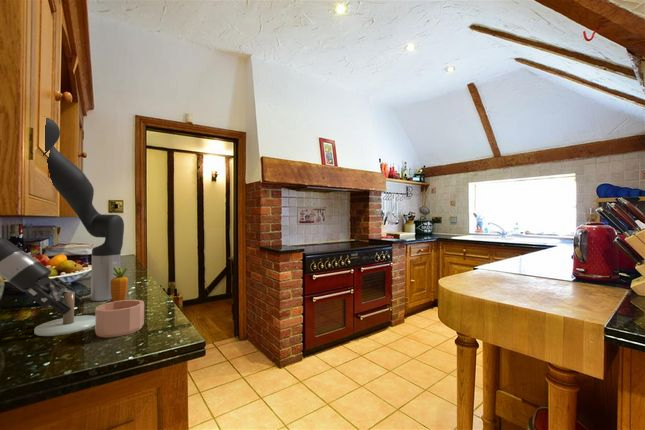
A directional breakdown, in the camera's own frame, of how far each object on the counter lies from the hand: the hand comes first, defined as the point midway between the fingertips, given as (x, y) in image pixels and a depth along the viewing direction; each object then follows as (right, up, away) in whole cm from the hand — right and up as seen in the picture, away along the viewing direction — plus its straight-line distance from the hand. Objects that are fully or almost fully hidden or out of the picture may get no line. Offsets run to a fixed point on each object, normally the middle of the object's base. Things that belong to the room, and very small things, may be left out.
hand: (74, 307), depth 84 cm
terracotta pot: (+16, -5, -3) cm, 17 cm away
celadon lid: (-1, -6, -1) cm, 6 cm away
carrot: (+3, -6, +15) cm, 16 cm away
